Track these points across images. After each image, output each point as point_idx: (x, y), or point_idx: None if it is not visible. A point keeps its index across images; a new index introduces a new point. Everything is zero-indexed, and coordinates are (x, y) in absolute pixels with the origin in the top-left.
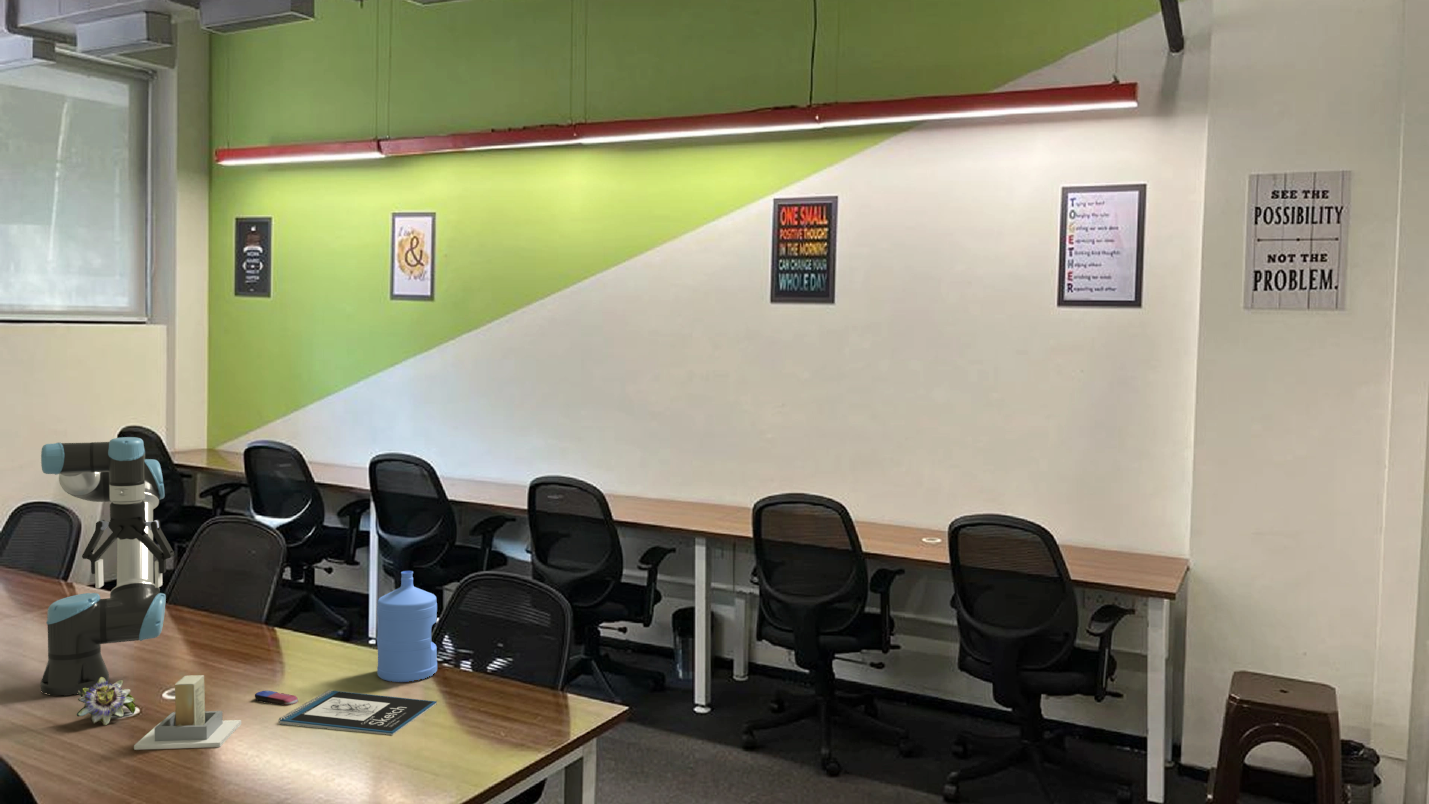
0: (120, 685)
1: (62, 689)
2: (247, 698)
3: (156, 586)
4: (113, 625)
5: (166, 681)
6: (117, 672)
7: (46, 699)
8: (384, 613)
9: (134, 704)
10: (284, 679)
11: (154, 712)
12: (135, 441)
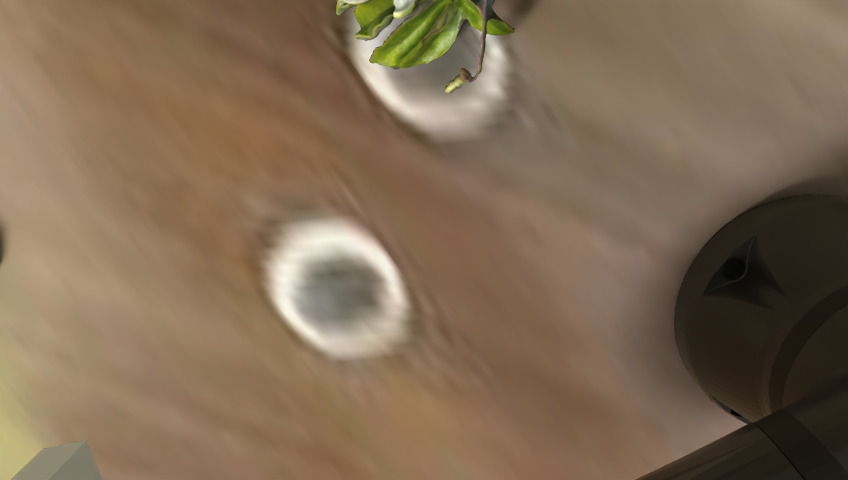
0: (399, 4)
1: (796, 204)
2: (35, 256)
3: (54, 453)
4: (742, 470)
5: (470, 399)
6: None
7: (828, 157)
8: None
9: (372, 58)
10: None
11: (288, 59)
12: None
